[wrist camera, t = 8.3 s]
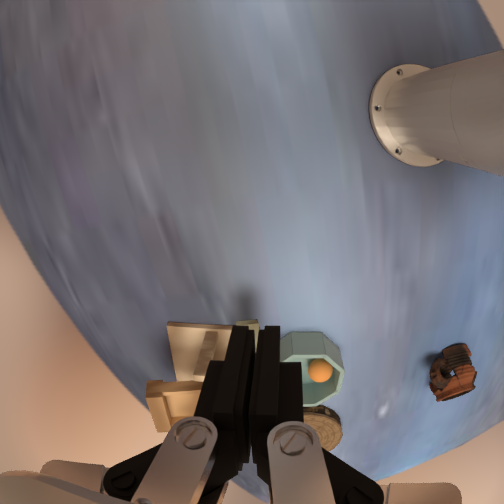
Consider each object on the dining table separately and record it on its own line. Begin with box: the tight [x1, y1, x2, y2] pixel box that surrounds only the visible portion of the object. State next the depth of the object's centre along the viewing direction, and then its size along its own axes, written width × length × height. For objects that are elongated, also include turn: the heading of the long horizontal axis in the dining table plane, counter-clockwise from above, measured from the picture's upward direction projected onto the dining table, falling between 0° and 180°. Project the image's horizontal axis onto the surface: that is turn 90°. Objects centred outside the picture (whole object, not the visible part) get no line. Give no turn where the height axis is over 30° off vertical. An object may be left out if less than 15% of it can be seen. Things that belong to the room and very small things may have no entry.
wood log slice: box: [303, 405, 343, 452], centre depth 51 cm, size 16×16×3 cm
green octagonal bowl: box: [280, 332, 345, 407], centre depth 43 cm, size 10×10×5 cm
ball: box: [308, 358, 333, 382], centre depth 43 cm, size 4×4×4 cm
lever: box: [146, 319, 259, 432], centre depth 35 cm, size 14×16×3 cm
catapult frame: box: [167, 322, 260, 382], centre depth 41 cm, size 13×12×10 cm
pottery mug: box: [429, 344, 477, 402], centre depth 43 cm, size 12×10×8 cm
